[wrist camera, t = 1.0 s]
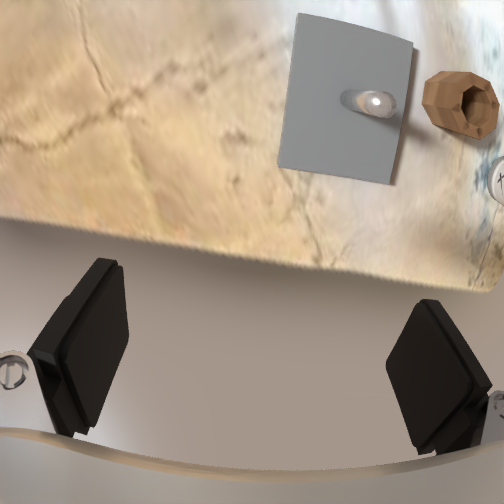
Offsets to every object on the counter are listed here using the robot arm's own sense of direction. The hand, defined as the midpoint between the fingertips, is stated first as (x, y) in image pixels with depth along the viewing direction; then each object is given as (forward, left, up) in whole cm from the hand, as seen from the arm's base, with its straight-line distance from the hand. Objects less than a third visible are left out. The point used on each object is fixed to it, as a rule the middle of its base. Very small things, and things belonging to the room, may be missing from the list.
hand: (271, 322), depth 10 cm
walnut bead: (-10, +20, -26) cm, 34 cm away
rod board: (-7, +8, -26) cm, 28 cm away
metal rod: (-7, +8, -24) cm, 26 cm away
